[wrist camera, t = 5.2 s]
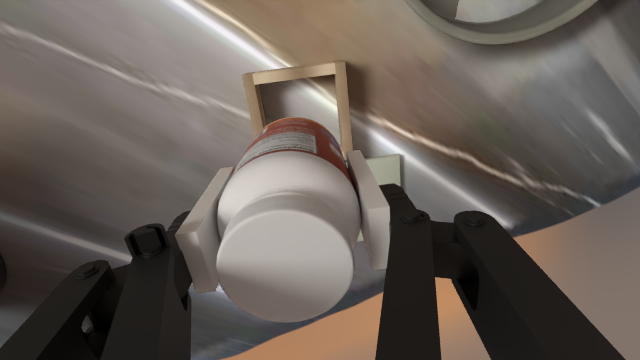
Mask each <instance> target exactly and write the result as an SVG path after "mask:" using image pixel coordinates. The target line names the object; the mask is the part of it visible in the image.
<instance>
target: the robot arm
mask: <svg viewBox="0 0 640 360" xmlns="http://www.w3.org/2000/svg"><path fill="white" fill-rule="evenodd" d="M346 156H347V166H348V171H349V174H350V177H351V180H352V183H353V186H354V188H355V191H356V194H357V197H358V201H359V206H360V211H361V227H360V230H361V233H362V236H363V240H364V243H365V246H366V249H367V253H368V256H369V259H370V263H371V266H372V269H373V270H379V269H386V276H385V284H384V293H383V301H382V309H381V317H380V325H379V334H378V343H377V350H376V358H375V360H441V351H440V350H441V349H440V336H439V324H438V311H437V299H436V286H435V277H440V278H449V279H451V280H452V283H453V285H454V287H455V289H456V291H457V293H458V295H459V297H460V299H461V301H462V303H463V304H464V307H465V309H466V311H467V313H468V315H469V317H470V319H471V320H472V323H473V324H474V326H475V329H476V331H477V333H478V334H479V336H480V338H481V340H482V342H483V344H484V346H485V348H486V350H487V352H488V354H489V356H490V358H491V360H625V359H624V358H623V356H622V355H621V354H620V353H619V352H618V351H617V350H616V349H615V348H614V347H613V346H612V345H611V344H610V342H609V341H608V340H607V339H606V338H605V337H604V336H603V335H602V334H601V333H600V332H599V331H598V330H597V328H596V327H595V326H594V325H593V324H592V323H591V322H590V321H589V320H588V319H587V318H586V317H585V316H584V314H582V312H581V311H580V310H579V309H578V308H577V307H576V306H575V305H574V304H573V303H572V302H571V301H570V300H569V298H568V297H567V296H566V295H565V294H564V293H563V292H562V291H561V290H560V289H559V288H558V286H557V285H556V284H555V283H554V282H553V281H552V280H551V279H550V278H549V277H548V276H547V275H546V274H545V272H544V271H543V270H542V269H540V267H539V266H538V265H537V264H536V263H535V262H534V261H533V259H532V258H531V257H530V256H529V255H528V254H527V253H526V252H525V251H524V250H523V249H522V248H521V247H520V245H519V244H518V243H517V242H516V241H515V240H514V239H513V238H512V237H511V236H510V235H509V234H508V233H507V231H506V230H505V229H504V228H503V227H502V226H501V225H500V224H499V223H498V222H497V221H496V220H495V219H494V218H493V217H492V216H490V215H488V214H486V213H483V212H480V211H464V212H460V213H458V214H456V215H455V217H454V223H448V222H436V221H432V220H430V217H429V215H428V214H427V213H426V212H424V211H421V210H418V209H416V208H415V206H414V205H413V203H412V202H411V200H410V199H409V198H408V196H407V194H405V192H404V190H403V189H402V187H400V186H398V185H396V184H395V183H392V184H384V185H378V183H377V182H376V180H375V178H374V176H373V174H372V172H371V170H370V168H369V166H368V164H367V162H366V161H365V159H364V157H363V155H362V153H361V151H360V150H355V151H347V152H346ZM234 171H235V169H234V167H228V168H220V170H219V171H218V173H217V174H216V176H215V177H214V178H213V180H212V181H211V183H210V184H209V186H208V187H207V189H206V190H205V192H204V193H203V194H202V196H201V197H200V199H199V200H198V202H197V203H196V205H195V206H194V208H193V209H192V210H191V211H187V212H184V213H182V214H181V215H180V216H178V217H177V218H176V219H175V220H174V222H173V223H172V225H171V226H170V227H169V228H168V231H165V229H164V226H163V225H162V224H155V223H154V224H148V225H145V226H142V227H139V228H137V229H135V230H133V231H132V232H130V233H129V234H128V235H127V236H126V237H125V238H124V240H125V242H126V244H127V246H128V249H129V251H130V253H131V255H132V261H131V264H128V265H125V266H121V267H118V268H115V269H111V267H110V265H109V263H108V261H105V260H98V261H94V262H89V263H86V264H84V265H82V266H80V267H79V268H77V269H76V270H74V271H73V272H72V273H70V274H69V275H68V276H67V277H66V278H65V279H64V280H63V281H62V282H61V284H60V285H59V286H58V287H57V288H56V289H55V290H54V291H53V292H52V293H51V294H50V295H49V296H48V297H47V299H46V300H45V301H44V302H43V303H42V304H41V305H40V306H39V307H38V308H37V309H36V310H35V311H34V312H33V314H32V315H31V316H30V317H29V318H28V319H27V320H26V321H25V322H24V323H23V324H22V325H21V326H20V327H19V329H18V330H17V331H16V332H15V333H14V334H13V335H12V336H11V337H10V338H9V339H8V340H7V341H6V342H5V344H4V345H3V346H2V347H1V348H0V360H190V359H191V297H190V295H189V292H188V289H189V287H190V285H191V283H193V286H194V289H195V291H196V293H203V292H211V291H216V288H217V285H218V282H219V279H218V276H217V268H216V262H217V254H218V250H219V248H220V245H221V242H222V241H221V238H220V235H219V231H218V225H217V211H218V205H219V201H220V198H221V196H222V193H223V191H224V189H225V187H226V185H227V183H228V181H229V180H230V178H231V176H232V175H233V173H234ZM4 283H5V267H4V264H3V261H2V259H1V257H0V291H1V289H2V288H3V286H4ZM84 318H85V319H86V321H87V323H88V324H89V328H88V329H87V331H86V332H85V333H84V332H83V331H82V329H81V328H82V323H83V321H84Z"/></svg>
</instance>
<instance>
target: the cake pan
mask: <svg viewBox="0 0 640 360" xmlns="http://www.w3.org/2000/svg"><path fill="white" fill-rule="evenodd" d="M405 1H406V3H407V4H408V5H409V7H411V8H412V9H413V10H414V11H415V12H416V14H417V15H418V16H420V17H421V18H422V19H423V20H424V21H425V22H427V23H429V24H430V25H431V26H432V27H434V28H435V29H437V30H439V31H441V32H443V33H445V34H447V35H449V36H452V37H454V38H457V39H460V40H464V41H467V42H472V43H478V44H491V45H496V44H509V43H515V42H520V41H524V40H528V39H531V38H534V37H537V36H540V35H543V34H545V33H547V32H550V31H552V30H554V29H556V28H558V27H560V26H562V25H563V24H565V23H567V22H569V21H570V20H572V19H574V18H575V17H577V16H578V15H580V14H581V13H583V12H584V11H585V10H587V9H588V8H589V7H591V6H592V5H593V4H594V3H596V2H597V1H598V0H541V1H540V2H538V3H537V4H535V5H534V6H532V7H530V8H529V9H527V10H525V11H523V12H521V13H519V14H516V15H513V16H511V17H508V18H505V19H502V20H498V21H493V22H484V23H474V22H465V21H460V20H456V19H455V17H456V11H457V6H458V1H459V0H405Z"/></svg>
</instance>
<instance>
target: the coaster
mask: <svg viewBox="0 0 640 360" xmlns="http://www.w3.org/2000/svg"><path fill="white" fill-rule="evenodd" d="M364 159H365V161H366V162H367V164H368V166H369V168H370V170H371V172H372V174H373V176H374V178H375V180H376V182H377V183H378V185H384V184H392V183H395V184H396V185H398V186H400V155H399V154H394V155H386V156H379V157H371V158H364ZM345 163H346V165H347V161H345ZM347 168H348V166H347ZM357 241H364V240H363V236H362V233H361V230H360V233H359V237H358V240H357Z"/></svg>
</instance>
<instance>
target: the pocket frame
mask: <svg viewBox="0 0 640 360" xmlns="http://www.w3.org/2000/svg"><path fill="white" fill-rule="evenodd" d="M330 74H334V79H335V88H336V98H337V108H338V118H339V127H340V137H341V145H339V146H340V148H341V151H342V154H343V157H344V160H347V156H346V152H347V151H353V146H352V134H351V123H350V112H349V100H348V89H347V77H346V66H345V61H343V60H341V61H333V62H326V63H319V64H311V65H304V66H297V67H289V68H282V69H275V70H267V71H260V72H252V73H246V74H244V75H242V78H243V83H244V88H245V92H246V97H247V102H248V106H249V111H250V116H251V120H252V125H253V130H254V134H255V136H256V135H257V134H258V133H259V132H260V131H261V130H262V129H263V128H264V127H265V126H267V125H266V120H265V115H264V110H263V105H262V100H261V95H260V90H259V85H258V84H264V83H271V82H278V81H286V80H293V79H301V78H308V77H315V76H323V75H330Z"/></svg>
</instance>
